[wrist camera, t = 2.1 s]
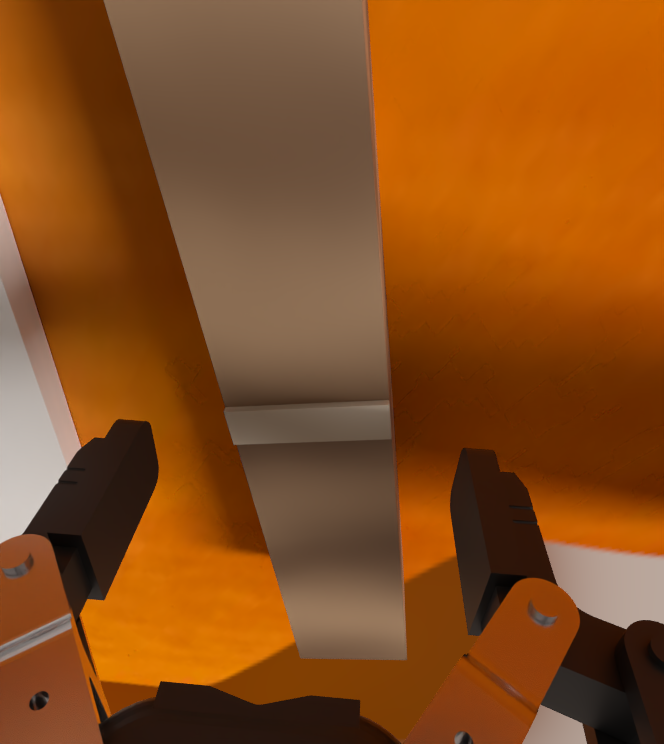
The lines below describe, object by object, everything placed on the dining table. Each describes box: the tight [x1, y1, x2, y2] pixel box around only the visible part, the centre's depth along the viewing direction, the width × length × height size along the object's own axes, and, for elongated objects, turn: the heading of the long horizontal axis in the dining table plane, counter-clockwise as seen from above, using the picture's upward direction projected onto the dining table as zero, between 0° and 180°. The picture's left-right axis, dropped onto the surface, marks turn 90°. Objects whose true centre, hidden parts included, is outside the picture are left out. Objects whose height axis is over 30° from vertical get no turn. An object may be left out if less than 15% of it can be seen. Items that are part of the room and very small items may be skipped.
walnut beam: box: [104, 0, 407, 660], centre depth 16 cm, size 26×4×5 cm, turn 7°
